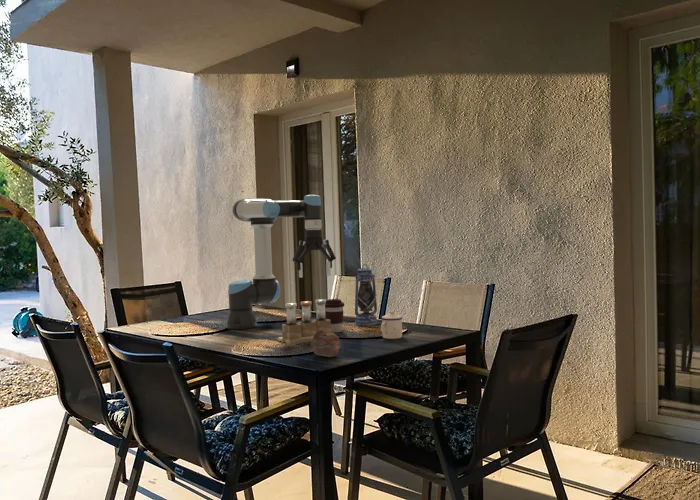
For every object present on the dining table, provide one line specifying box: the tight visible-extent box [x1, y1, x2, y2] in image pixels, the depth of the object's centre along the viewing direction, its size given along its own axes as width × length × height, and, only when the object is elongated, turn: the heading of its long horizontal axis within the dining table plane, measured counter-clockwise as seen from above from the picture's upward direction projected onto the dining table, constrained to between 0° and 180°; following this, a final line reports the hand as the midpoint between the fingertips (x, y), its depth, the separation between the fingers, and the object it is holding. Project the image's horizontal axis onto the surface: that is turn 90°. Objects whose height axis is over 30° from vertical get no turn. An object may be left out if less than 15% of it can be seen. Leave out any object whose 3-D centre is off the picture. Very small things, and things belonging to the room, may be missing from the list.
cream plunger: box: [284, 302, 298, 326], centre depth 262 cm, size 5×5×10 cm
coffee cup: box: [325, 298, 345, 334], centre depth 284 cm, size 10×10×15 cm
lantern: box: [353, 263, 380, 326], centre depth 304 cm, size 15×12×30 cm
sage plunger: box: [314, 298, 327, 321], centre depth 272 cm, size 5×5×10 cm
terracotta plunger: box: [300, 300, 313, 323], centre depth 267 cm, size 5×5×10 cm
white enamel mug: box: [380, 310, 403, 340], centre depth 265 cm, size 12×9×12 cm
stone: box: [311, 330, 341, 358], centre depth 231 cm, size 13×8×10 cm
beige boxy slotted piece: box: [277, 318, 337, 345], centre depth 267 cm, size 12×23×8 cm, turn 129°
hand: (314, 276), depth 272 cm, fingers open, 13 cm apart
